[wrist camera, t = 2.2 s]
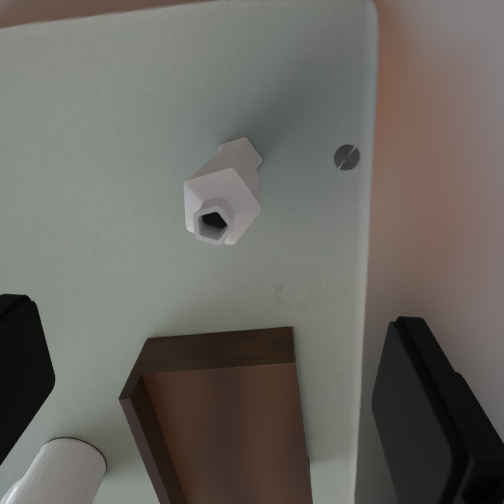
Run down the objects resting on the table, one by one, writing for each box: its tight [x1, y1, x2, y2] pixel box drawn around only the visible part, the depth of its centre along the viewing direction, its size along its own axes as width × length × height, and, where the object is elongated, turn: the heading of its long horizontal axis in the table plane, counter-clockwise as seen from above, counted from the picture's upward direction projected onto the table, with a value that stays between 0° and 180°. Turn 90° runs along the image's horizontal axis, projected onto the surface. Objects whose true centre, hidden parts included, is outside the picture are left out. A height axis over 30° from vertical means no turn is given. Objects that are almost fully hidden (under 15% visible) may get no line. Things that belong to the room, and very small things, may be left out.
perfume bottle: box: [183, 137, 262, 246], centre depth 26 cm, size 5×4×15 cm
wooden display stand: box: [118, 327, 313, 504], centre depth 42 cm, size 16×22×8 cm
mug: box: [0, 438, 106, 504], centre depth 48 cm, size 12×9×9 cm
